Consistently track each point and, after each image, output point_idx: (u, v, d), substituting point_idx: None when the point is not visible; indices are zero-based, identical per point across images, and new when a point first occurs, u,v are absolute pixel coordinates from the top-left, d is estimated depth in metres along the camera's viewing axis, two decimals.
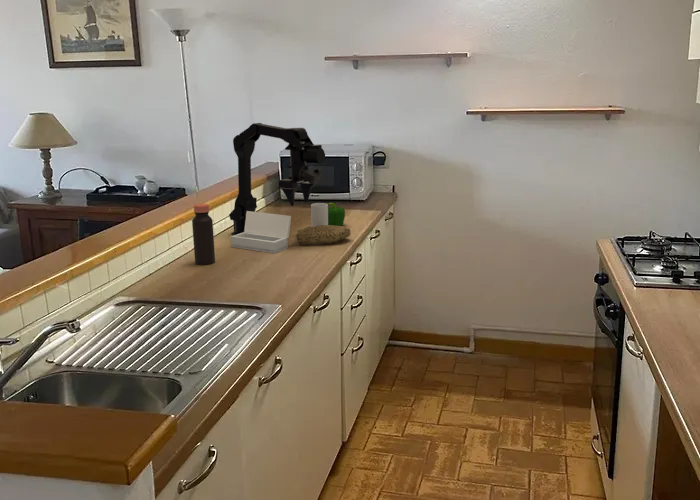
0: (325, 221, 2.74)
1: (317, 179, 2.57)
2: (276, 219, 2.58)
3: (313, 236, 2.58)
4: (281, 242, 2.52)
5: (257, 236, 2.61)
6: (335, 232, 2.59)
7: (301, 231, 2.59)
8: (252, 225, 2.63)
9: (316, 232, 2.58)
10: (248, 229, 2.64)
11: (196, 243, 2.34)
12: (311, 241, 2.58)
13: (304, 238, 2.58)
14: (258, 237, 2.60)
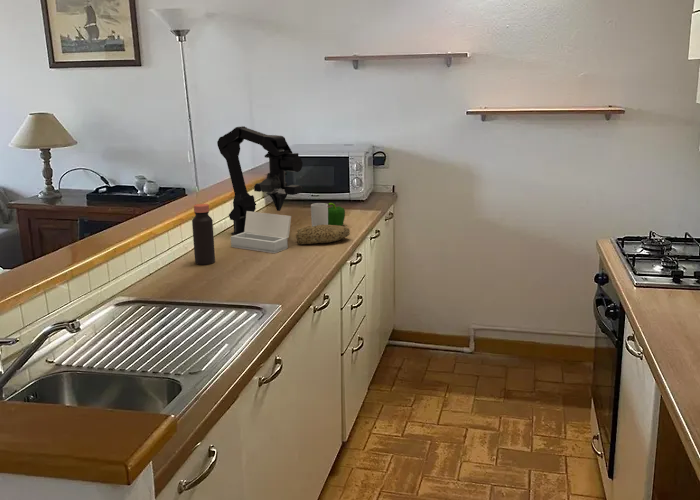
0: (325, 221, 2.74)
1: (266, 189, 2.56)
2: (276, 219, 2.58)
3: (313, 236, 2.58)
4: (281, 242, 2.52)
5: (257, 236, 2.61)
6: (335, 231, 2.60)
7: (301, 231, 2.60)
8: (252, 225, 2.63)
9: (316, 232, 2.59)
10: (248, 229, 2.64)
11: (196, 243, 2.34)
12: (311, 241, 2.59)
13: (304, 238, 2.59)
14: (258, 237, 2.60)
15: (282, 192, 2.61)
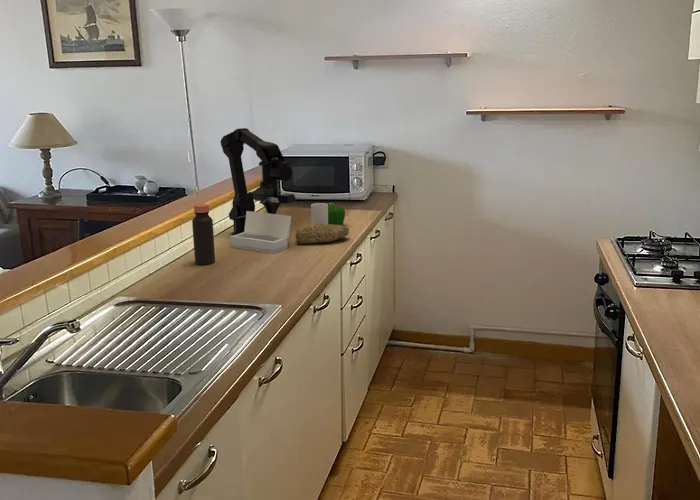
0: (325, 221, 2.74)
1: (259, 197, 2.53)
2: (276, 219, 2.58)
3: (313, 235, 2.59)
4: (281, 242, 2.52)
5: (257, 236, 2.61)
6: (334, 231, 2.61)
7: (300, 230, 2.60)
8: (252, 225, 2.63)
9: (315, 231, 2.60)
10: (248, 229, 2.64)
11: (196, 243, 2.34)
12: (311, 240, 2.60)
13: (304, 237, 2.59)
14: (258, 237, 2.60)
15: (275, 201, 2.58)
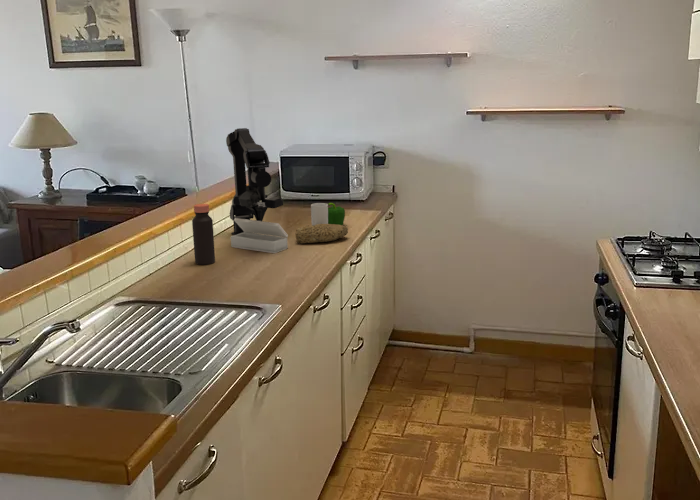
0: (325, 221, 2.74)
1: (245, 203, 2.47)
2: (267, 226, 2.53)
3: (312, 235, 2.60)
4: (281, 242, 2.52)
5: (257, 236, 2.61)
6: (334, 230, 2.62)
7: (300, 230, 2.61)
8: (248, 228, 2.61)
9: (315, 231, 2.61)
10: (246, 230, 2.63)
11: (196, 243, 2.34)
12: (310, 240, 2.61)
13: (303, 237, 2.60)
14: (258, 237, 2.60)
15: (262, 205, 2.51)
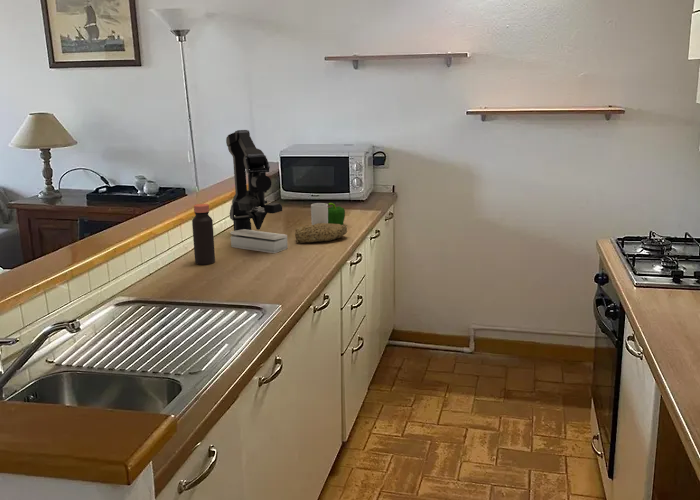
0: (325, 221, 2.74)
1: (244, 207, 2.47)
2: None
3: (312, 234, 2.61)
4: (281, 242, 2.52)
5: None
6: (333, 230, 2.63)
7: (300, 229, 2.62)
8: None
9: (315, 230, 2.61)
10: None
11: (196, 243, 2.34)
12: (310, 239, 2.61)
13: (303, 236, 2.61)
14: None
15: (261, 210, 2.51)
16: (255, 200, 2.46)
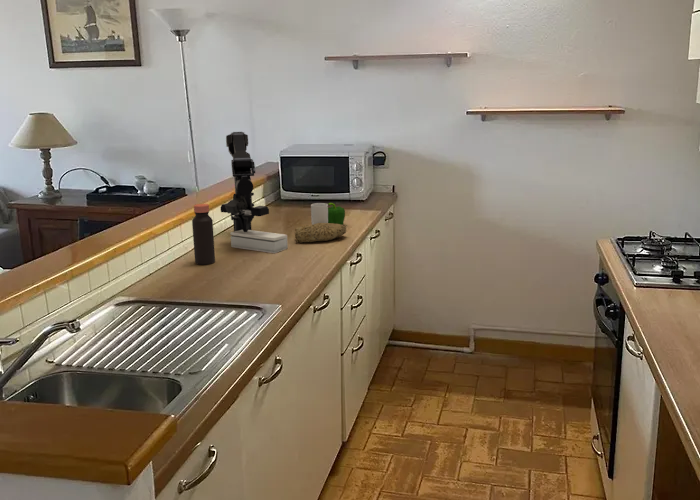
0: (325, 221, 2.74)
1: (231, 210, 2.50)
2: None
3: (312, 234, 2.61)
4: (281, 242, 2.52)
5: None
6: (333, 229, 2.64)
7: (299, 229, 2.62)
8: None
9: (314, 230, 2.62)
10: None
11: (196, 243, 2.34)
12: (310, 239, 2.62)
13: (303, 236, 2.61)
14: None
15: (248, 213, 2.55)
16: (242, 203, 2.49)
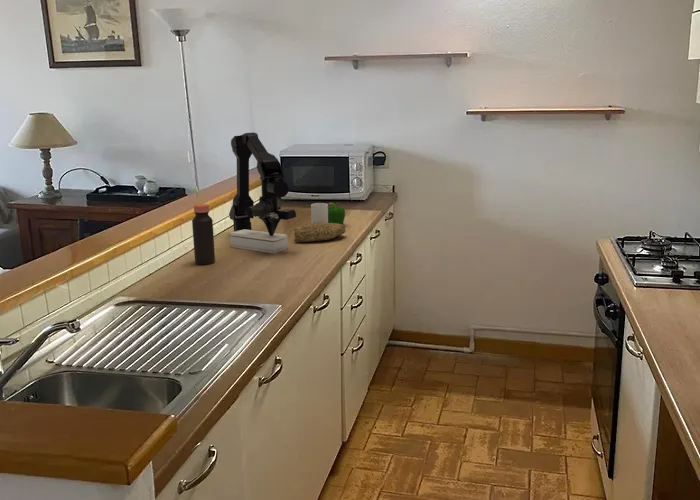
0: (325, 221, 2.74)
1: (258, 213, 2.44)
2: None
3: (311, 233, 2.62)
4: (281, 242, 2.52)
5: None
6: (332, 229, 2.64)
7: (299, 229, 2.63)
8: None
9: (314, 229, 2.63)
10: None
11: (196, 243, 2.34)
12: (309, 238, 2.62)
13: (302, 236, 2.62)
14: None
15: (275, 216, 2.49)
16: (269, 206, 2.43)
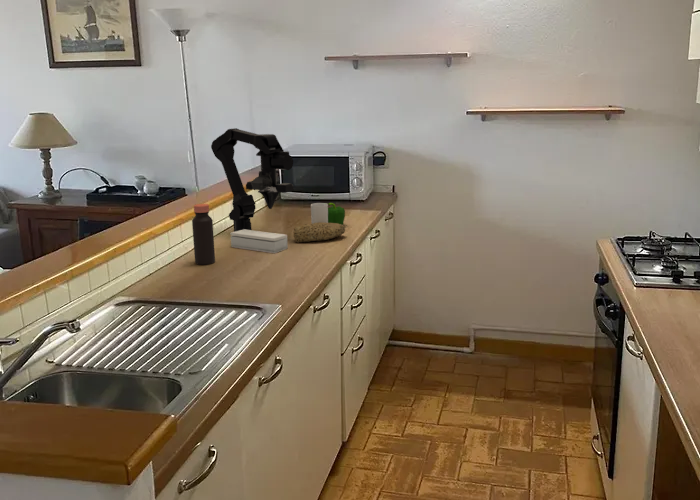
0: (325, 221, 2.74)
1: (257, 187, 2.58)
2: None
3: (310, 233, 2.62)
4: (281, 242, 2.52)
5: None
6: (332, 229, 2.64)
7: (298, 229, 2.63)
8: None
9: (313, 229, 2.63)
10: None
11: (196, 243, 2.34)
12: (308, 238, 2.63)
13: (302, 235, 2.62)
14: None
15: (273, 190, 2.63)
16: (268, 180, 2.57)
